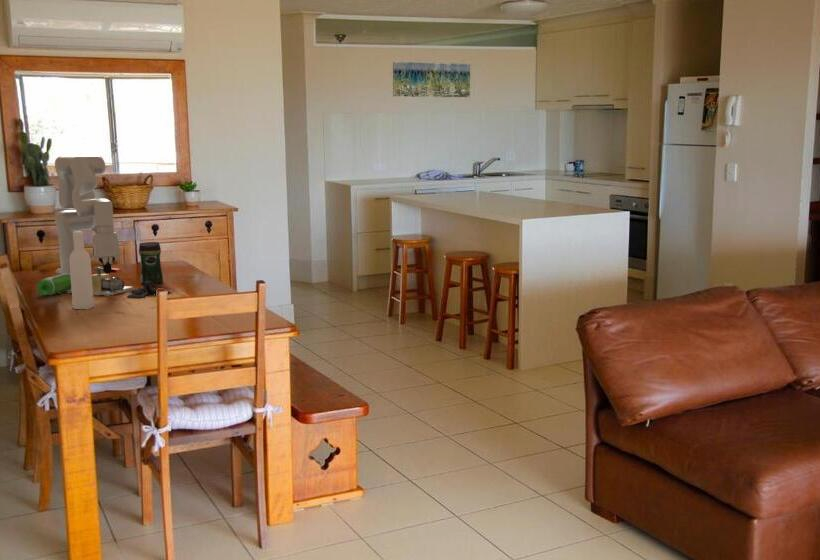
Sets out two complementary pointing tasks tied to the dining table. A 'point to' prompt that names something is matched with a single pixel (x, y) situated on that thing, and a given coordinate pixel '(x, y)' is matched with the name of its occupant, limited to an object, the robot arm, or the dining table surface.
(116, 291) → the valve pipe
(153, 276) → the coffee jar
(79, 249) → the bottle
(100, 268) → the lever
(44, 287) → the speaker
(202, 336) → the dining table surface
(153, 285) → the cloth
